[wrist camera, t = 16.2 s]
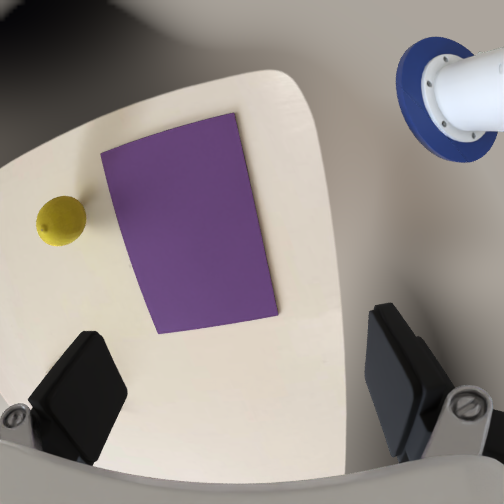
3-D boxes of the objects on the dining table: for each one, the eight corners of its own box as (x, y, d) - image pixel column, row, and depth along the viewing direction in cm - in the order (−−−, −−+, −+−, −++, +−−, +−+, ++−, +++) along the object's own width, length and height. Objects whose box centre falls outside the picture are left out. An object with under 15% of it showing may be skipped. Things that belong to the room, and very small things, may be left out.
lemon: (59, 195, 33) (20, 208, 25) (93, 187, 32) (55, 199, 25) (67, 236, 34) (31, 257, 27) (100, 232, 34) (66, 253, 27)
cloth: (101, 153, 31) (100, 153, 31) (234, 112, 30) (234, 112, 29) (158, 333, 39) (158, 334, 38) (278, 314, 37) (278, 315, 37)
